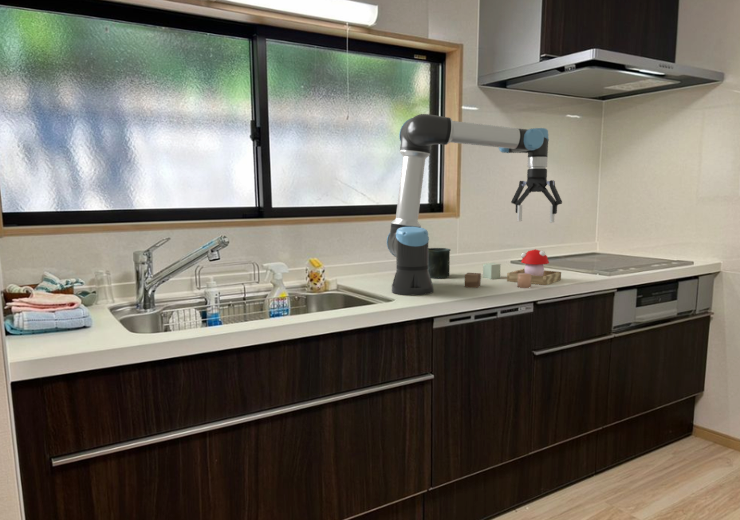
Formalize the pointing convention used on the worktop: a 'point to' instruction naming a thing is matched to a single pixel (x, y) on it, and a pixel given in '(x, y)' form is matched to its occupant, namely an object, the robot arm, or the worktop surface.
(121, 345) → the worktop surface
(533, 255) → the mushroom
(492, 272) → the sage block
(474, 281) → the walnut block
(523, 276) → the peach rounded block
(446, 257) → the mug
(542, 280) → the bamboo tray
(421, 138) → the robot arm
